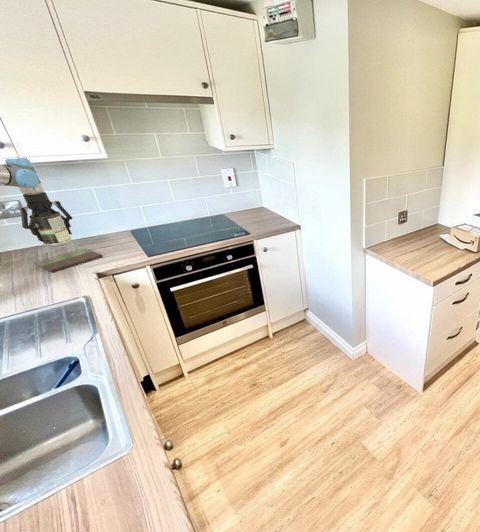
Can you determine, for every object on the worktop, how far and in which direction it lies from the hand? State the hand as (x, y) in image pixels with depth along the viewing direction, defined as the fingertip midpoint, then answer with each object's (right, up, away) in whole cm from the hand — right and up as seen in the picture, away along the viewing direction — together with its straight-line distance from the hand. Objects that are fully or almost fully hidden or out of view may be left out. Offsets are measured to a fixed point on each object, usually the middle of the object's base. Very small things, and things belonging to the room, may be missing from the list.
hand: (55, 237), depth 158 cm
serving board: (+3, -12, +4) cm, 13 cm away
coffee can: (0, -2, +1) cm, 2 cm away
